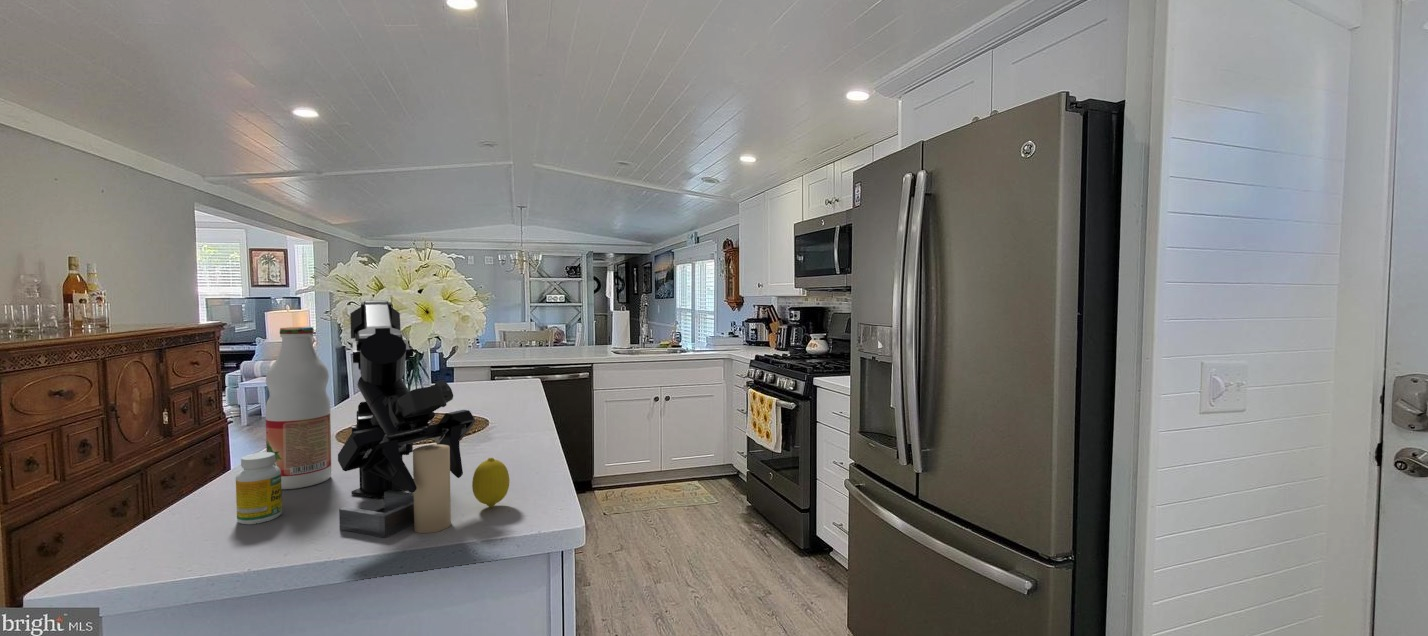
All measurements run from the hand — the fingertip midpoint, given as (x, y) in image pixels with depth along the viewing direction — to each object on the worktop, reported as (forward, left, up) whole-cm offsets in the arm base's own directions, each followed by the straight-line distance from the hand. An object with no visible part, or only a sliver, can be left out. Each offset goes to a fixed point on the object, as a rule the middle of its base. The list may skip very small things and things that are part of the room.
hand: (438, 483), depth 82 cm
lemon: (+2, +9, -7) cm, 12 cm away
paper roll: (-1, 0, -7) cm, 7 cm away
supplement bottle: (-28, -6, -7) cm, 30 cm away
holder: (-9, -1, -7) cm, 11 cm away
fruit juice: (-39, +8, -7) cm, 41 cm away
